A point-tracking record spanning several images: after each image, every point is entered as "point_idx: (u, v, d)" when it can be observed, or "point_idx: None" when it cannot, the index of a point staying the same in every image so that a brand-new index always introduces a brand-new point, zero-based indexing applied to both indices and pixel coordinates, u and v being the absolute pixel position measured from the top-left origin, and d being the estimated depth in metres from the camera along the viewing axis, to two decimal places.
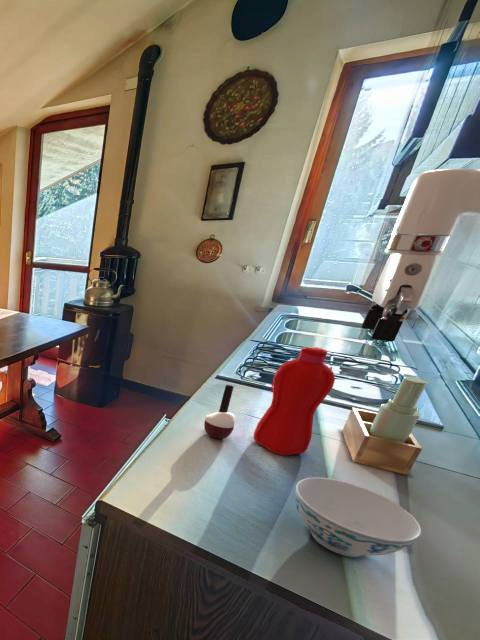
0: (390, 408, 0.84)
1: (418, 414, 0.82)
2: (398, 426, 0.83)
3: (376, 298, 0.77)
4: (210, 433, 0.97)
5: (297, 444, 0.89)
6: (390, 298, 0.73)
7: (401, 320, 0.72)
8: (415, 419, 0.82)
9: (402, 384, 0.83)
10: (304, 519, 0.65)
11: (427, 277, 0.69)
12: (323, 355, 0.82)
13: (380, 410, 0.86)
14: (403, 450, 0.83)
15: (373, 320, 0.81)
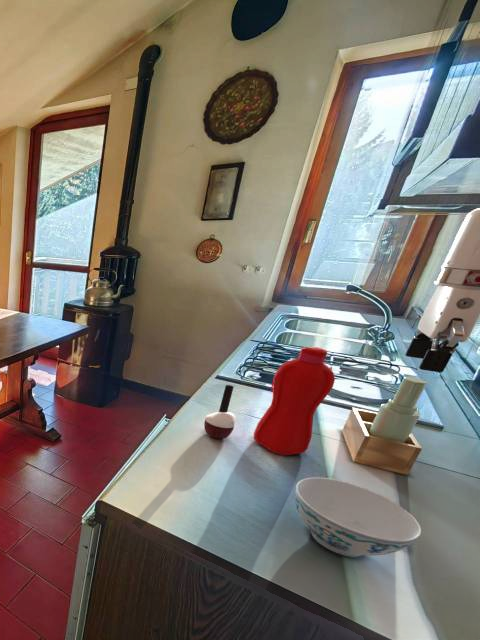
0: (390, 408, 0.84)
1: (418, 414, 0.82)
2: (398, 426, 0.83)
3: (423, 328, 0.78)
4: (210, 433, 0.97)
5: (297, 444, 0.89)
6: (440, 330, 0.74)
7: (451, 352, 0.73)
8: (415, 419, 0.82)
9: (402, 384, 0.83)
10: (304, 519, 0.65)
11: (479, 311, 0.71)
12: (323, 355, 0.82)
13: (380, 410, 0.86)
14: (403, 450, 0.83)
15: (418, 349, 0.83)
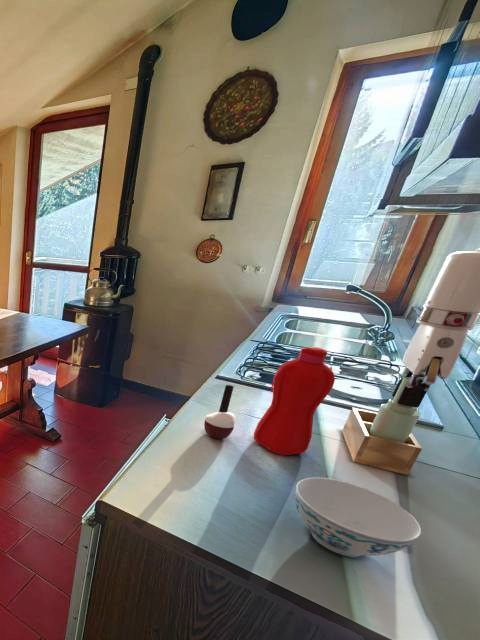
0: (390, 408, 0.84)
1: (418, 414, 0.82)
2: (398, 426, 0.83)
3: (407, 363, 0.81)
4: (210, 433, 0.97)
5: (297, 444, 0.89)
6: None
7: (425, 390, 0.79)
8: (415, 419, 0.82)
9: (402, 384, 0.83)
10: (304, 519, 0.65)
11: (459, 351, 0.74)
12: (323, 355, 0.82)
13: (380, 410, 0.86)
14: (403, 450, 0.83)
15: None
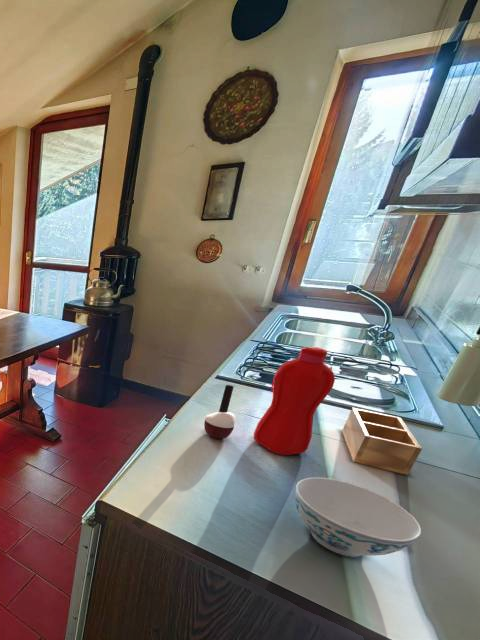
0: (476, 345, 0.79)
1: None
2: None
3: None
4: (210, 433, 0.97)
5: (297, 444, 0.89)
6: None
7: None
8: None
9: None
10: (304, 519, 0.65)
11: None
12: (323, 355, 0.82)
13: (463, 349, 0.80)
14: (403, 450, 0.83)
15: None
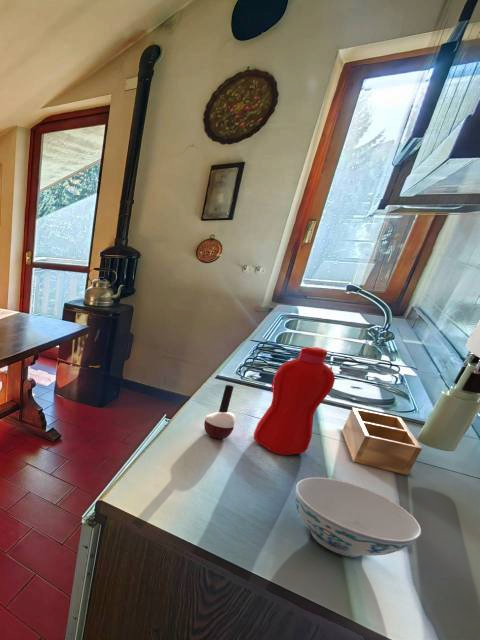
0: (453, 395, 0.83)
1: None
2: (461, 412, 0.82)
3: (473, 349, 0.80)
4: (210, 433, 0.97)
5: (297, 444, 0.89)
6: None
7: None
8: None
9: (467, 370, 0.81)
10: (304, 519, 0.65)
11: None
12: (323, 355, 0.82)
13: (442, 397, 0.85)
14: (403, 450, 0.83)
15: None
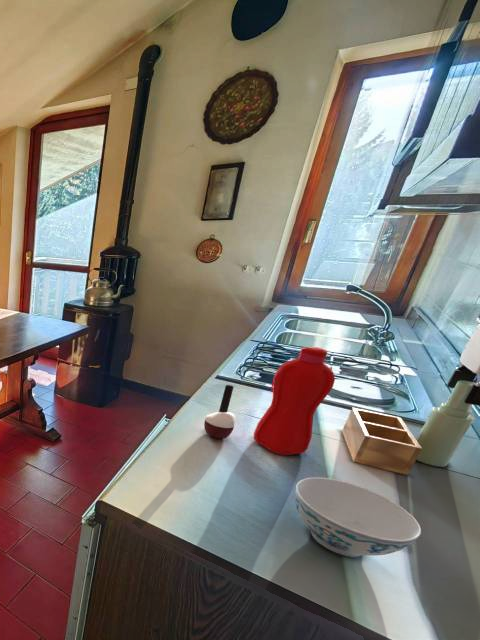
0: (443, 411, 0.85)
1: (472, 417, 0.83)
2: (451, 429, 0.84)
3: (467, 363, 0.81)
4: (210, 433, 0.97)
5: (297, 444, 0.89)
6: None
7: None
8: (470, 423, 0.82)
9: (456, 387, 0.83)
10: (304, 519, 0.65)
11: None
12: (323, 355, 0.82)
13: (432, 413, 0.86)
14: (403, 450, 0.83)
15: (460, 380, 0.86)
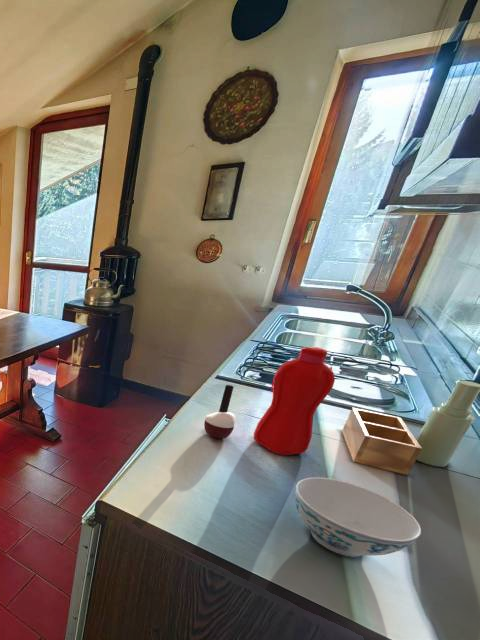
0: (443, 411, 0.85)
1: (472, 417, 0.83)
2: (451, 429, 0.84)
3: None
4: (210, 433, 0.97)
5: (297, 444, 0.89)
6: None
7: None
8: (470, 423, 0.82)
9: (456, 387, 0.83)
10: (304, 519, 0.65)
11: None
12: (323, 355, 0.82)
13: (432, 413, 0.86)
14: (403, 450, 0.83)
15: None
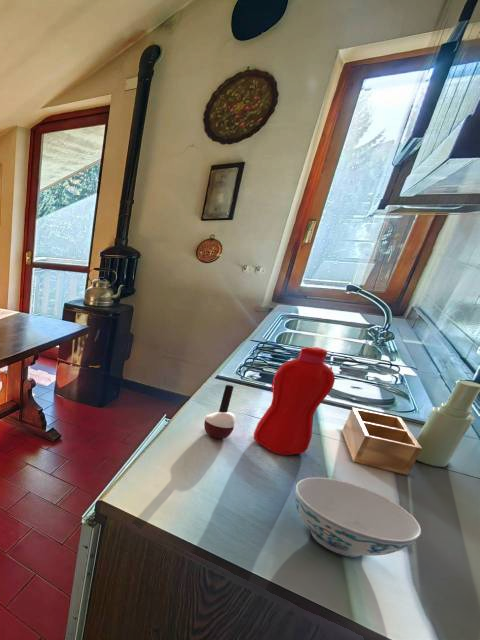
0: (443, 411, 0.85)
1: (472, 417, 0.83)
2: (451, 429, 0.84)
3: None
4: (210, 433, 0.97)
5: (297, 444, 0.89)
6: None
7: None
8: (470, 423, 0.82)
9: (456, 387, 0.83)
10: (304, 519, 0.65)
11: None
12: (323, 355, 0.82)
13: (432, 413, 0.86)
14: (403, 450, 0.83)
15: None
